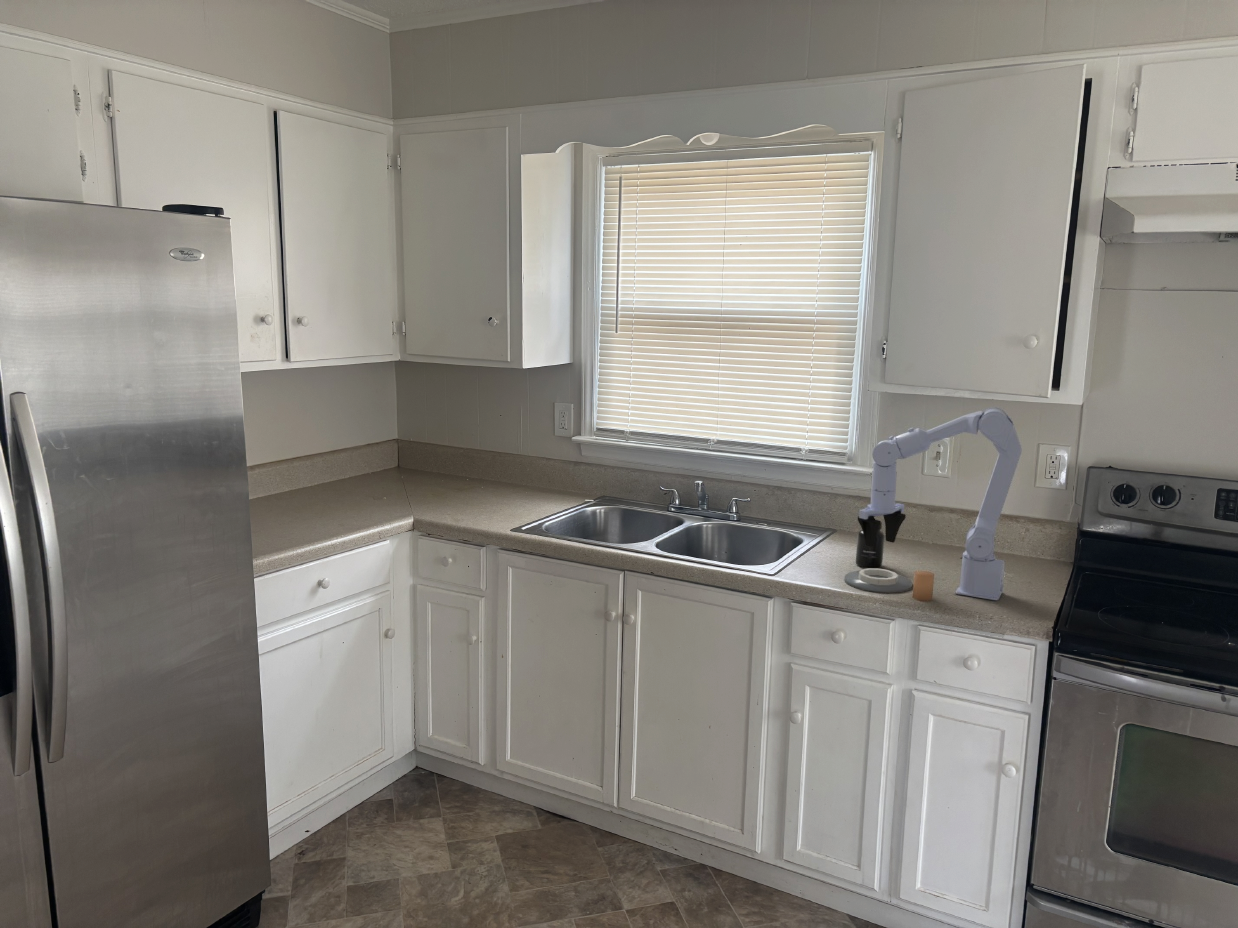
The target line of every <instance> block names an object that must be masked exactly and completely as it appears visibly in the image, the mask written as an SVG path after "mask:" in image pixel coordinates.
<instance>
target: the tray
mask: <svg viewBox="0 0 1238 928" xmlns="http://www.w3.org/2000/svg"><path fill="white" fill-rule="evenodd" d="M843 580H844V582H845V583H846V585H848V586H850V587H852V588H855V589H857V590H862V591H865V592H871V593H879V594H880V593H882V594H896V593H897V594H898V593H903V592H907V591H909V590H911V589H912V587H913V580H911V579H910V578H908V577H907V576H904V575H901V574H898V573H896V572H895V571H892V570H889V569H883V568H864V569H863V568H862V569H860V570H854V571H850V572H847V573H845V575H844V579H843Z"/></svg>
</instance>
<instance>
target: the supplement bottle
mask: <svg viewBox="0 0 1238 928" xmlns="http://www.w3.org/2000/svg"><path fill="white" fill-rule="evenodd" d="M882 525H883V522H882V521H881V522H880V524H879V527H878V529H877V533H876V540H875V545H874V547H870V546H867V545H866V544H865V538H864V534H863V531H862V529H860V530H859V531H858V533H857V537H856V538H857V540H856V541H857V542H856V553H855V564H856V565H857V566H858V567H861V568H864V569H868V568H877V569H881V567H882V566H883V558H884V550H885V549H884V548H885V540H886V536H885V533H884V532H883V531H882V530H883V529H882Z"/></svg>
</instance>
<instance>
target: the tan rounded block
mask: <svg viewBox="0 0 1238 928" xmlns="http://www.w3.org/2000/svg"><path fill="white" fill-rule="evenodd" d="M934 582H935V573H934V572H931V571H928V570H916V571H914V573H913V584H912V587H913V588H912V598H913V599H914V600H916V601H921V602H930V601H932V600H933V596H934V595H933V594H934Z"/></svg>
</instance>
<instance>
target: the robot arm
mask: <svg viewBox="0 0 1238 928" xmlns="http://www.w3.org/2000/svg"><path fill="white" fill-rule="evenodd" d="M1014 425H1015V424H1014V422H1013V420H1012V418H1010V417H1009V415H1008V414H1007V412H1006V411H1004V409H1001V408H1000V407H989V408H987V409H985V410H984V411H983V410H978V411H974V412H970V413H967V414H964V415H962V416H959V417H957V418H954V419H952V420H950V421H947V422H944V423H942V424H940V425H938V426H935V427H933V428H930V429H927V430H925V429H922V428H921V427H917V428H914V427H911V428H908V429H907V432H904V433H901V434H899V435H897V436H894V435H891V436H889V437H888V439H886V440H881V441H879V442H878V443H877V444H876V445H875V447H874V448H873V450H872V459H873V463H872V468H873V470H872V473H871V485H870V486H871V489H870V490H871V491H870V504H867V505H866V507H865V508H863V509H859V513H858V514H859V515H858V516H857V521H858V524H859V526H860V528H861V530H862V531H863V534H864V538H865V544H866V545H867V546H870V547H874V545H875V540H876V533H877V529H878V527H879V524H880V522H882V521H881V520H878V519H876V518H875V517H880V516H883V520H884V527H885V533H884V535H885V541H886V542H888V543H892V544H893V543H895V542H896V538H897V536H898V533H899V530H900V528H901V525H902V524H903V522H904V521H905V520H906V517H907V516H906V515H907V514H905V507H906V506H905V503H904V504H903V503H899V502H898V503H897V502H896V490H897V476H898V475H897V460H905V459H907V458H910V457H913V456H916V455H918V454H921V453H924V452H926V451H928V450H929V449H930V447H931V444H932V443H935V442H939V441H941V440H944V439H947V438H951V437H953V436H957V435H960V434H962V433H967V434H971V435H978V431H980V433H981V434H982V435H983V437H985V438H986V439H987V440H989V441H990V442H991V443H992V444H993V446H994V448H995V449H996V451H997V452H998V455H997V458H996V461H995V464H994V467H993V470H992V473H991V476H990V479H989V482H988V485H987V487H986V491H985V494H984V497H983V499H982V503H981V506H980V509H979V512H978V515H977V517H976V520H975V523H974V524H973V526H971V528H970V529H969V530H968V531H967V532H966V537H965V539H966V541H965V543H964V544H965V545H964V546H965V551H963V552H962V559H961V561H962V562H961V569H960V570H961V571H960V582H959V586H958V587H957V589H956V590H955V594H957V595H961V596H966V597H974V598H981V599H984V600H985V599H986V600H991V601H999V599H1000V598H1001V596H1002V594H1003V591H1004V577H1005V568H1006V567H1005V566H1006V564H1005V563H1006V562H1005V561H1004V560H1003V559H998V558H996V554H995V553H994V552H995V540H996V539H995V534H996V531H997V527H998V523H999V520H1000V518H1001V513H1002V511H1003V507H1004V505H1005V502H1006V500H1007V496H1008V493H1009V490H1010V487H1011V484H1012V481H1013V478H1014V476H1015V472H1016V470H1017V466H1018V463H1019V461H1020V459H1021V455H1022V451H1023V450H1022V449H1023V448H1022V445H1021V442H1020V440H1019V437H1018V434H1017V431H1016V429H1015V426H1014Z"/></svg>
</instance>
